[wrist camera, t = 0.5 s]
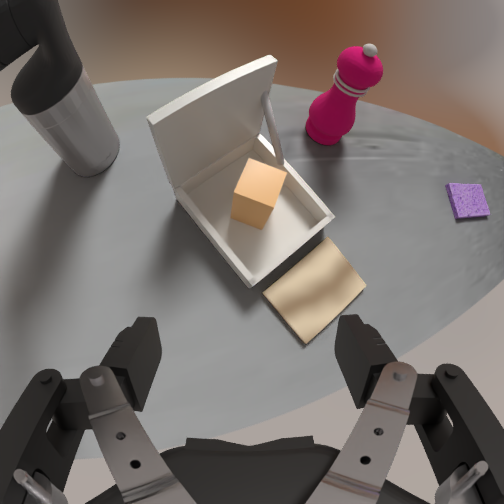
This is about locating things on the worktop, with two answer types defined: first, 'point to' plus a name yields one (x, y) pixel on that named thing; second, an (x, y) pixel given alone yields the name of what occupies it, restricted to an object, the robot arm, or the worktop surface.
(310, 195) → the equipment case
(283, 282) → the board
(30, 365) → the worktop surface
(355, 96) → the pepper mill
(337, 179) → the worktop surface
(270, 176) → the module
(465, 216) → the sponges
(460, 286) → the worktop surface
